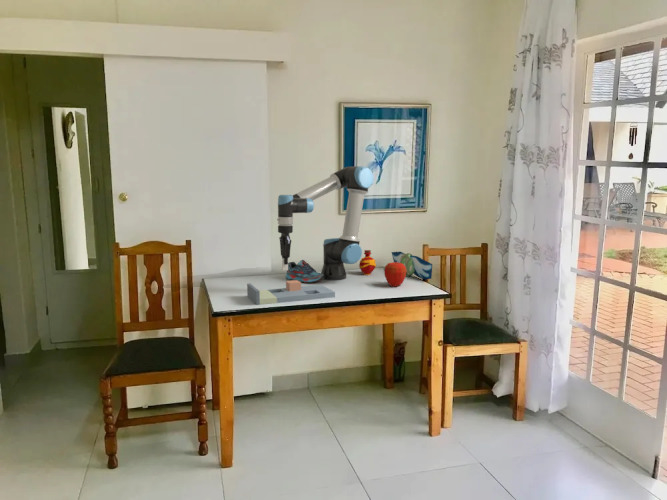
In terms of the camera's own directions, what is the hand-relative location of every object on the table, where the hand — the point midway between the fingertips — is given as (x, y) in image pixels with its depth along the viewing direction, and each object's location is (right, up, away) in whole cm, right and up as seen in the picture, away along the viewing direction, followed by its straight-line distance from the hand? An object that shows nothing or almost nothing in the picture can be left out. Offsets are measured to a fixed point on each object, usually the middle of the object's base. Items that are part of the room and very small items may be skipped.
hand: (285, 270), depth 277 cm
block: (+5, -10, -6) cm, 12 cm away
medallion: (+70, -5, +40) cm, 81 cm away
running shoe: (+8, -8, +26) cm, 28 cm away
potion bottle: (+45, -5, +43) cm, 63 cm away
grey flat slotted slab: (+4, -13, -11) cm, 17 cm away
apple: (+59, -9, +14) cm, 61 cm away
